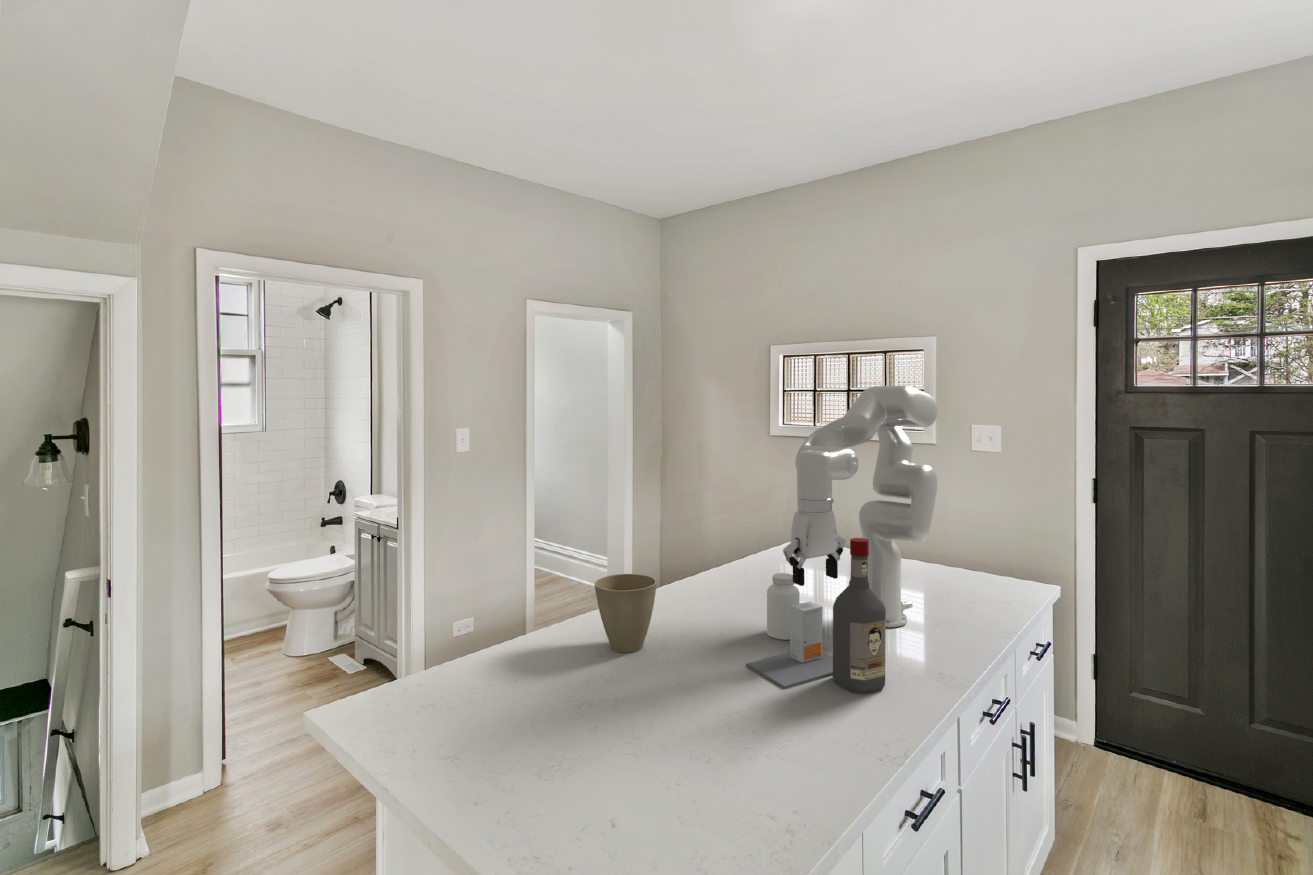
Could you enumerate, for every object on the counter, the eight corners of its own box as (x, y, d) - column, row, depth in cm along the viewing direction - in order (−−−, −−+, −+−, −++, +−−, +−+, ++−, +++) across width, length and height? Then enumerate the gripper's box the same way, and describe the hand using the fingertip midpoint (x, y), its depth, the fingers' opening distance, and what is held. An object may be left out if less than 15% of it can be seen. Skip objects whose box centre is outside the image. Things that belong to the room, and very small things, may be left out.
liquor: (826, 678, 135) (826, 537, 133) (861, 670, 138) (861, 533, 136) (856, 696, 126) (856, 546, 124) (892, 687, 130) (893, 541, 128)
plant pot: (670, 645, 154) (669, 580, 153) (626, 664, 143) (625, 595, 142) (627, 630, 164) (626, 569, 163) (583, 647, 153) (581, 582, 152)
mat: (812, 648, 150) (812, 646, 150) (853, 668, 139) (853, 666, 139) (746, 665, 142) (746, 663, 141) (784, 688, 130) (784, 686, 130)
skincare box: (802, 664, 141) (802, 610, 140) (789, 657, 144) (789, 605, 144) (823, 658, 143) (823, 605, 143) (810, 651, 147) (810, 600, 146)
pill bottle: (799, 641, 155) (799, 580, 154) (766, 639, 157) (766, 579, 156) (799, 629, 163) (799, 571, 162) (767, 628, 164) (766, 570, 163)
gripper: (831, 499, 150) (832, 570, 151) (773, 507, 142) (774, 582, 143) (855, 503, 144) (856, 578, 145) (795, 512, 136) (796, 591, 137)
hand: (815, 580), depth 144 cm, fingers open, 9 cm apart
